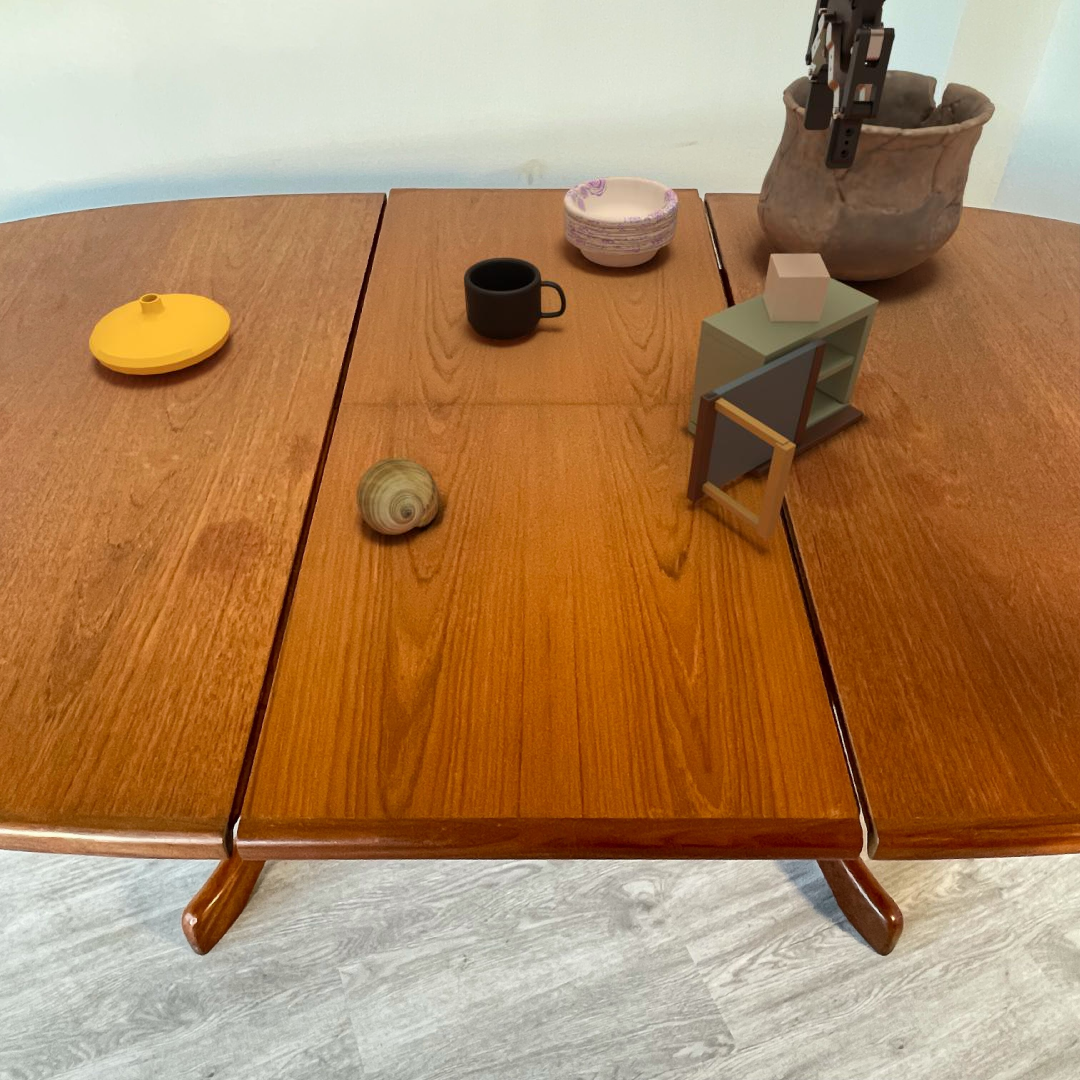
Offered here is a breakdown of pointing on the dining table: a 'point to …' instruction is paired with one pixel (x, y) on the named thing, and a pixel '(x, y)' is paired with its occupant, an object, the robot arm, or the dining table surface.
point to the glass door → (755, 431)
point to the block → (795, 287)
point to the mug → (506, 298)
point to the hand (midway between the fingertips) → (825, 147)
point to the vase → (160, 333)
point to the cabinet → (754, 341)
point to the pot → (875, 179)
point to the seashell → (397, 496)
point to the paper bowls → (620, 219)
